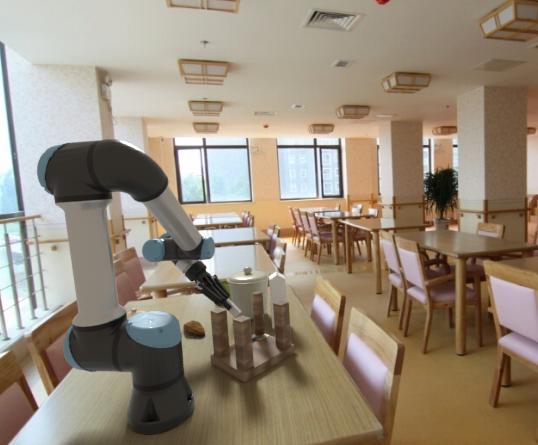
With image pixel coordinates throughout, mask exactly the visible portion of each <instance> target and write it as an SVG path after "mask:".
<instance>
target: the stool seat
mask: <svg viewBox="0 0 538 445" xmlns="http://www.w3.org/2000/svg"><path fill="white" fill-rule="evenodd" d="M273 310H274V326H275V329H274V336H273V335H270V334H268V333H265V334H264V335H262V336H260V337H258V338H256V339H254V340H252V335H253V334H252V331H253V330H252V320H251V318H249V317H246V316H243V315H242V316H240V317H236V318H235V317H234V318H232V326H233V338H234V339H233V341H234V343H233V344H231V345H230V337H229V324H228V310H227V309H226V308H223V307H221V306H219V307H216V308H214V309H212V310H210V322H211V324H210V325H211V336H212V346H213V347H212V348H213V353H211V354H210V364H212V365H214V366H215V367H217V368H219V369H221V370H222V371H224V372H225V373H228V374H229V375H231V376H233V377H234V378H236V379H238V380H240V381H241V382H242V383H247V382H248V381H250V380H251V379H253V378H255V377H256V376H258V375H260V374H262V373H263V372H265V371H266V370H269V369H270V368H272V367H273V366H275V365H276V364H279V363H280V362H282V361H284V360H285V359H288V357H290V356H292V355H293V354H295V353H296V347H295V346H296V345H295V344H294V343H292V334H291V332H292V331H291V317H290V316H291V315H290V302H289V301H283V300H279V301H277V302H274V303H273Z"/></svg>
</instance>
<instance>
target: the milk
mask: <svg viewBox="0 0 538 445" xmlns="http://www.w3.org/2000/svg"><path fill="white" fill-rule="evenodd" d="M286 285H287V283H286V278H285V275H284V274H282V273H280V272H278V270H277V268H275V271H274V272H273V273H271V274H269V279H268V288H269V301H270V315H271V326H272V327H271V328H272V329H274V330H275V326H274V310H273V303H274V302H277V301H279V300H283V301H287V300H288V299H287V286H286ZM287 302H288V301H287Z"/></svg>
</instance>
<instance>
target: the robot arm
mask: <svg viewBox="0 0 538 445" xmlns="http://www.w3.org/2000/svg"><path fill="white" fill-rule="evenodd" d="M36 174H37V175H36V176H37V181H38V182H39V184H40V186H41V188H44V191H45V192H46V193H47V194H48V195H51V196H53V199H54V205H55V206H57V207H58V208H60V209H62V211H63V213H64V218H65V225H66V226H65V227H66V233H67V239H68V247H69V255H70V260H71V268H72V269H71V270H72V275H73V276H72V277H73V282H74V283H73V285H74V289H75V290H74V291H75V297H76V304H77V311H78V312H77V314H75V316H74V318H73V319H72V320H71V326H70V327H69V328H68V329H67V330H66V332H65V336H66V337H65V338H64V339H63V343H62V349H63V350H62V351H63V352H62V353H63V356H64V358H65V360H66V362H67V363H68V364H69V366H70V367H71V368H73V369H76V370H79V371H86V372H90V373H95V372H113V373H118V372H119V373H131V380H132V389H131V395H130V399H129V404H128V407H127V423H128V425H129V428H130V429H131V430H132V431H133V432H135V433H138V434H143V435H155V434H160V433H164V432H167V431H169V430H172V429H173V428H176V427H177V426H179V425H180V424H182V423H183V422H185V421H186V420H187V419H188V418H189V417H190V415H191V414H192V413H193V411H194V408H195V395H194V391H193V389H192V387H191V386H190V383H189V380H188V379H187V377H186V374H185V364H184V353H183V352H184V351H183V341H182V338H183V336H182V335H183V334H182V330H181V324H180V321H179V319H178V318H177V317H176V316H175V315H174V314H172V313H170V312H167V311H161V310H150V311H148V312H147V311H145V312H142V313H139V314H136V315H134V316H132V317H131V318H129V320H128V319H127V314H128V313H127V308H126V307H124V306H123V305H121V304H120V303H119V297H118V288H117V281H116V271H115V264H114V257H113V249H112V240H111V232H110V226H109V216H108V206H110V204H111V203H112V202H113V200H114V199H113V193H119V192H120V193H123V194H124V193H125V194H127V195H129V196H130V197H131V198H132V200H134V202H137V203H141V204H143V206H144V207H145V208H146V209H147V210H148V212H149V213H150V214H151V215H152V216H153V217H154V218H155V220H156V221H157V223H159V225H160V226H161V227H162V228H163V230H165V232H164V233H162V234H161V235H160V236H159V237H157V238H155V237H153V238H151V239H147V240H146V241H145V242H144V243H143V245H142V247H141V254H142V256H143V258H144V259H145V261H147V262H150V263H160V262H171V263H172V264H174V266H175V267H176V268H177V269H178V270H179V271H180V272H181V273H182V274H184V276H185V277H186V279H187V280H188V281H189V282H191V283H193V282H194V283H195V284H196V286H195V288H194V289H195V291H198V292H200V293H201V294H202V295H203V296H204V297H206V298H207V299H209V300H210V301H212V302H213V303H214V304H215V305H216V306H219V307H221V306H223V307H224V309H226V310H227V312H229V313H230V315H232V316H233V318H234V319H235V318H237V316H238V315H239V314H240V313H241V312H242V311H241V310H240V309H239V308H238V307H237V306H236V305H235V304H234V303H233V302H232V299H231V300H230V299H229V297H230V294H229V292H228V291H227V290H226V289H225V287H224V286H223V285H222V283H221V282H220V281H221V280H220V279H219V278H218V275H217V274H213V275H211V273H209V272H208V271H207V268H208V267H207V265H206V264H205V263H204V262H203V261H205V260H211V259H212V258H213V257H214V256H215V252H216V251H215V250H216V245H215V240H214V238H213V237H212V236H207V235H204V236H202V235H201V233H200V231H199V230H198V229H197V227H196V225H195V224H194V222H193V221H192V219H191V217H189V215H188V213H187V212H186V210H185V209H184V207H183V205H182V204H181V203H180V201H179V199H178V198H177V197H176V196H175V194H174V193H173V191H172V189H171V188H170V186H169V183H170V182H169V178H168V176H167V174H166V173H165V171H164V169H163V168H162V167H161V166H160V165H159V163H157V161H156V160H154V159H153V158H152V157H151V156H150V155H148V154H147V153H146V152H145V151H143V150H142V149H141V148H139V147H137V146H135V145H133V144H131V143H130V142H127V141H124V140H120V139H115V138H105V139H100V140H89V141H88V140H87V141H74V142H66V143H62V144H56V145H53V146H50V147H49V148H47V149H45V151H44V152H43V153H42V154H41V155H40V157H39V159H38V162H37V165H36Z"/></svg>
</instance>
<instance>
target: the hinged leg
mask: <svg viewBox="0 0 538 445" xmlns="http://www.w3.org/2000/svg"><path fill="white" fill-rule="evenodd" d="M252 300H253V315H254V319H253V326H254V328H253V329H254V334H252V340H254V339H256V338H258V337H260V336H262V335H264V334H266V323H265V314H264V306H263V292H259V291H258V292H253V293H252Z"/></svg>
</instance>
